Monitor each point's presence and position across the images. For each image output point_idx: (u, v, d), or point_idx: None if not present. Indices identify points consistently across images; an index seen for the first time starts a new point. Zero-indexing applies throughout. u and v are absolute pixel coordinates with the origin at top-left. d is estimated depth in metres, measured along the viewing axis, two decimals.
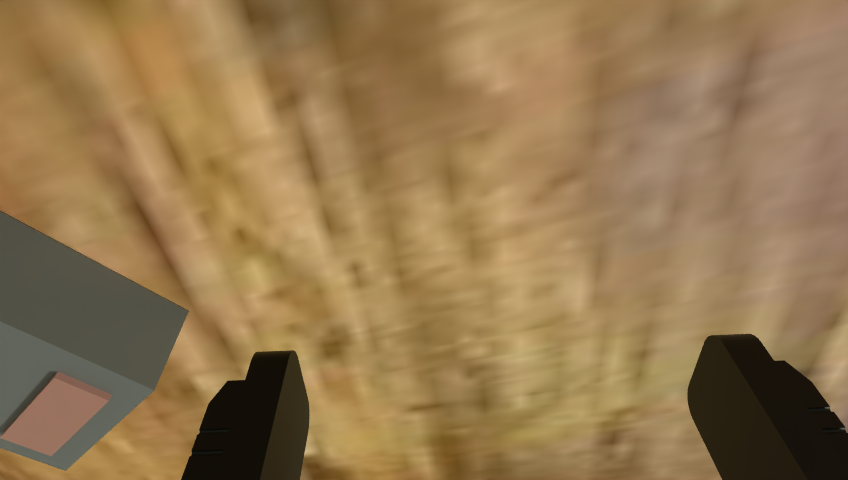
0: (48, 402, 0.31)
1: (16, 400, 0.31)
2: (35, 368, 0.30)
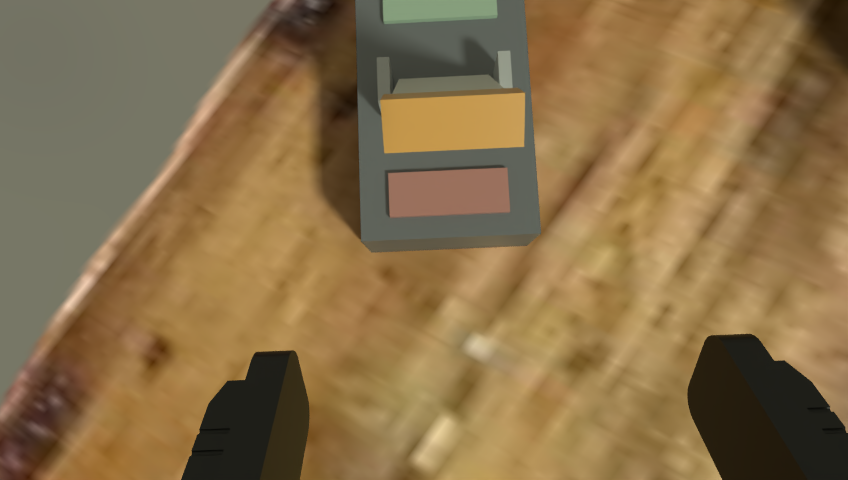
0: (471, 178, 0.37)
1: (444, 163, 0.38)
2: (496, 156, 0.38)
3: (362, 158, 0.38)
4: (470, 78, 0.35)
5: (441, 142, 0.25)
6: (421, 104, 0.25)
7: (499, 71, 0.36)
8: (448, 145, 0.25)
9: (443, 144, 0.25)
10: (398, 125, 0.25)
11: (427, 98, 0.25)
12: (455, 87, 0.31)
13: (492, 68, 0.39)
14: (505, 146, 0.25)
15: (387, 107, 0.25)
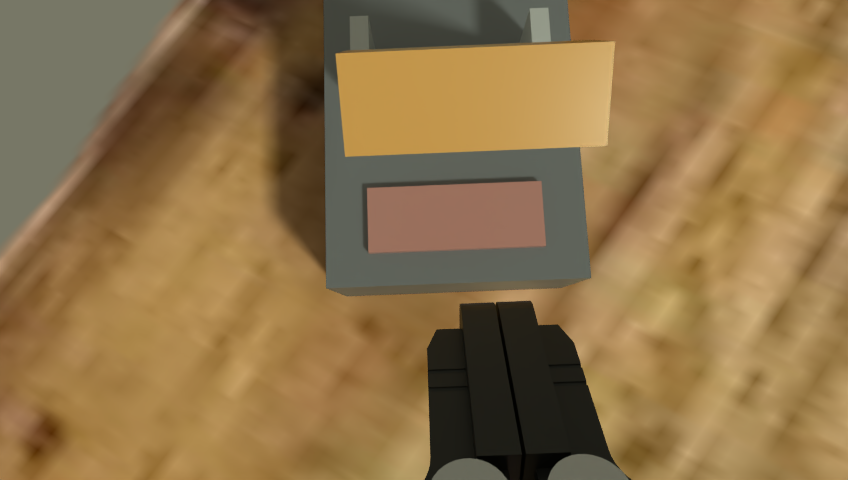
0: (489, 197, 0.25)
1: (449, 173, 0.26)
2: (525, 164, 0.26)
3: (330, 166, 0.26)
4: None
5: (452, 136, 0.13)
6: (415, 63, 0.13)
7: (532, 38, 0.24)
8: (465, 142, 0.13)
9: (456, 140, 0.13)
10: (371, 103, 0.13)
11: (426, 51, 0.13)
12: None
13: (518, 38, 0.27)
14: (572, 145, 0.14)
15: (349, 68, 0.13)
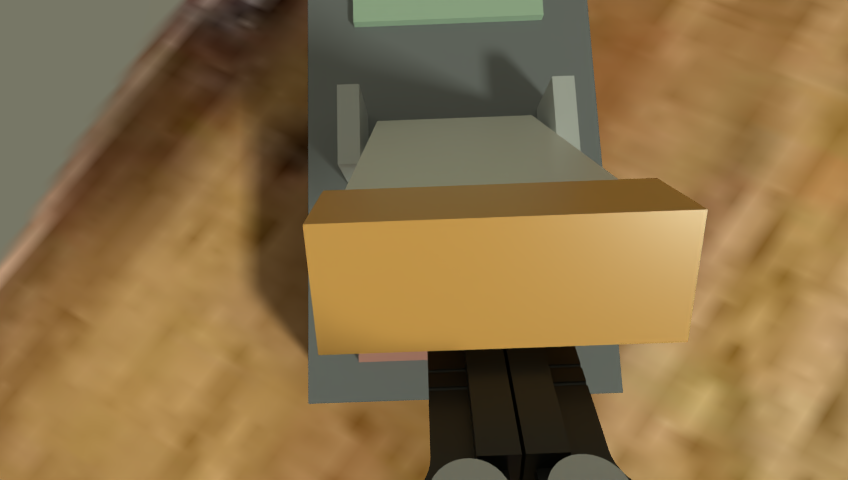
0: None
1: None
2: None
3: None
4: (504, 124, 0.20)
5: (469, 330, 0.10)
6: (417, 237, 0.09)
7: (555, 112, 0.20)
8: (488, 337, 0.10)
9: (475, 335, 0.10)
10: (354, 289, 0.09)
11: (434, 221, 0.09)
12: (485, 151, 0.15)
13: (535, 103, 0.23)
14: (638, 341, 0.10)
15: (323, 244, 0.09)
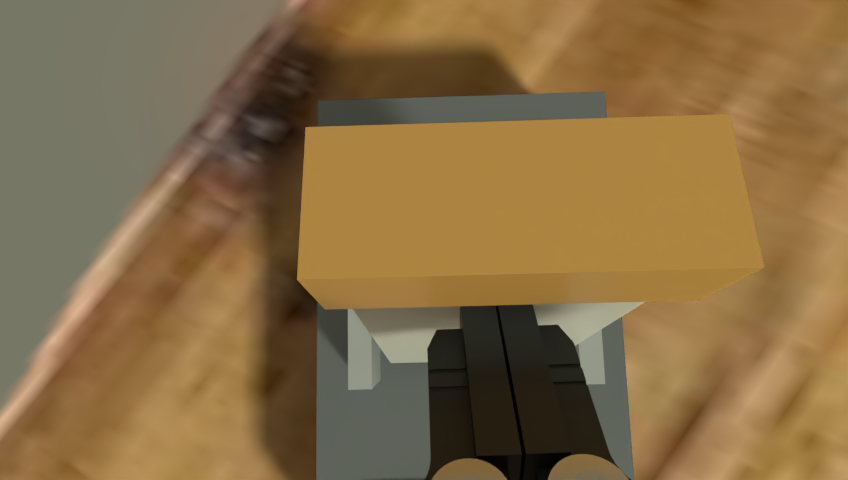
0: None
1: None
2: None
3: (322, 455, 0.21)
4: None
5: (486, 249, 0.08)
6: (424, 139, 0.08)
7: None
8: (509, 258, 0.08)
9: (493, 255, 0.08)
10: (351, 195, 0.08)
11: (442, 125, 0.08)
12: None
13: None
14: (700, 264, 0.08)
15: (324, 145, 0.08)
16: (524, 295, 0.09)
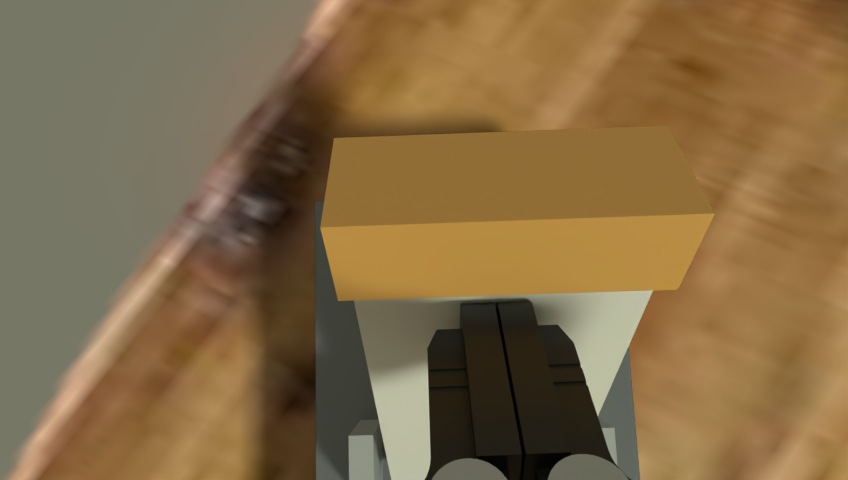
0: None
1: None
2: None
3: None
4: None
5: (480, 206, 0.09)
6: (428, 143, 0.10)
7: None
8: (499, 211, 0.09)
9: (485, 210, 0.09)
10: (369, 175, 0.10)
11: (442, 136, 0.11)
12: None
13: None
14: (660, 212, 0.09)
15: (348, 147, 0.10)
16: (517, 271, 0.10)
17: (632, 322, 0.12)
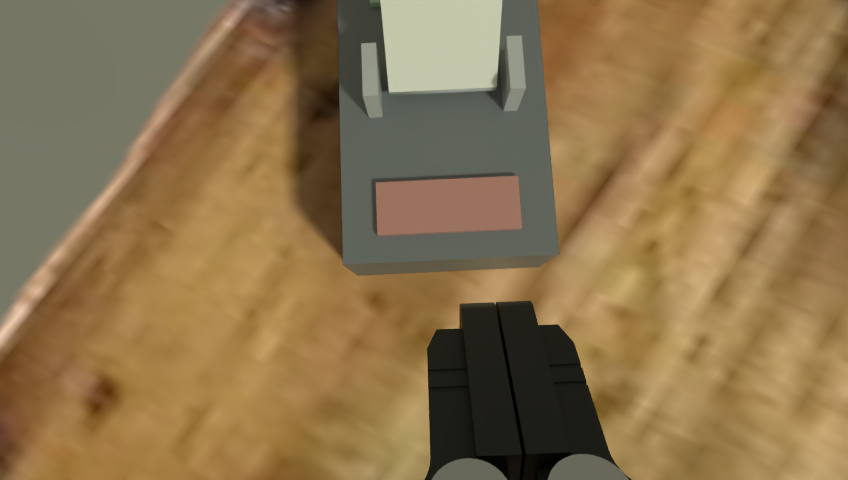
0: (475, 189, 0.31)
1: (442, 170, 0.32)
2: (505, 161, 0.32)
3: (344, 165, 0.32)
4: None
5: None
6: None
7: (509, 60, 0.30)
8: None
9: None
10: None
11: None
12: None
13: (499, 58, 0.33)
14: None
15: None
16: None
17: None
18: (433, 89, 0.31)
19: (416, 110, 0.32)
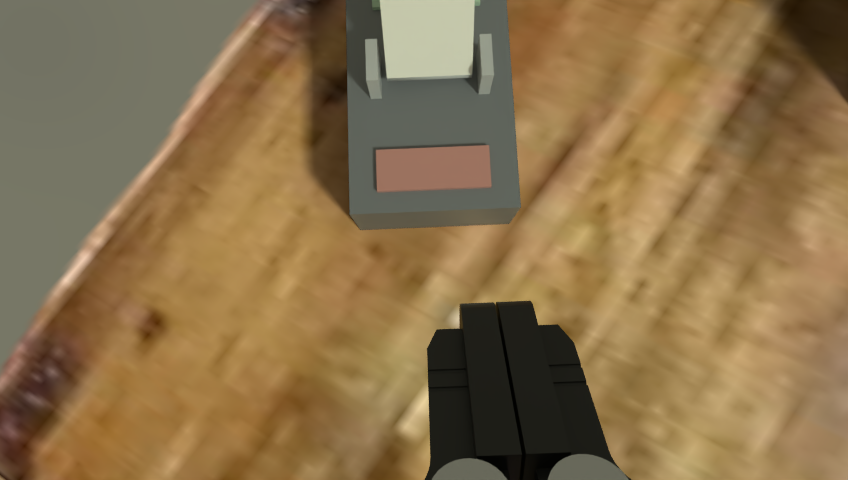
0: (455, 155, 0.39)
1: (429, 141, 0.40)
2: (479, 134, 0.40)
3: (351, 136, 0.40)
4: None
5: None
6: None
7: (481, 53, 0.38)
8: None
9: None
10: None
11: None
12: None
13: (475, 52, 0.41)
14: None
15: None
16: None
17: None
18: (422, 76, 0.39)
19: (409, 93, 0.40)
